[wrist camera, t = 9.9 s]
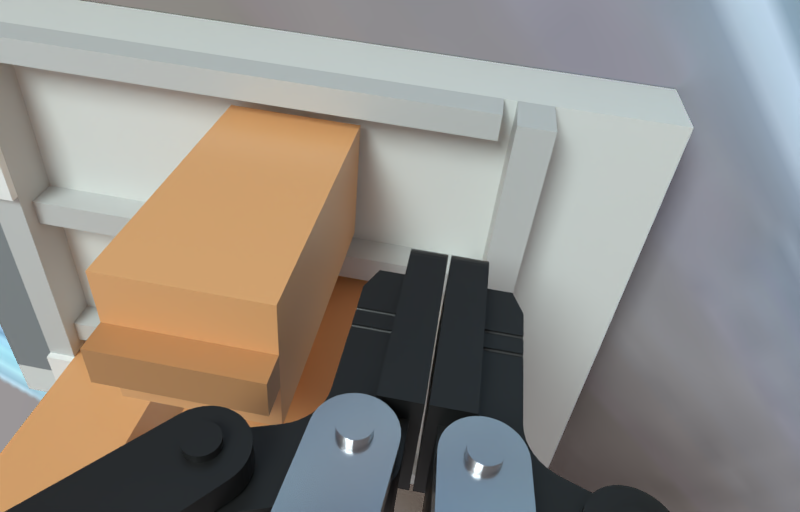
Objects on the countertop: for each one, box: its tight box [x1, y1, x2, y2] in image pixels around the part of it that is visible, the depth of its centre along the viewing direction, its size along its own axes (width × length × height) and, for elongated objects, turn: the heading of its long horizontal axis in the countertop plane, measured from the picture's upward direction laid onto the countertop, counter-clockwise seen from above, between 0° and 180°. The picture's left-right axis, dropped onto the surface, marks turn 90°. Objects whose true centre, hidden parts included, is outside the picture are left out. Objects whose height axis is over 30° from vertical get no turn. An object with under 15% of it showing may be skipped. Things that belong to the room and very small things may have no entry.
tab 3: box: [182, 276, 368, 427], centre depth 15 cm, size 3×3×7 cm
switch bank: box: [0, 0, 694, 484], centre depth 18 cm, size 19×14×3 cm
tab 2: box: [80, 105, 361, 425], centre depth 12 cm, size 3×3×7 cm
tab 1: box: [0, 350, 184, 512], centre depth 18 cm, size 3×3×7 cm
